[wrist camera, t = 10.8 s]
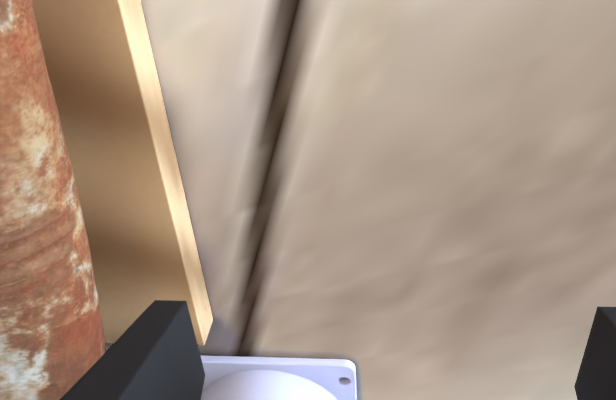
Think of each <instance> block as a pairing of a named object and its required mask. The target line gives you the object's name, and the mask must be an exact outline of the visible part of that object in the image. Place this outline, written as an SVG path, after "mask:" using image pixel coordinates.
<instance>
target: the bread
mask: <svg viewBox="0 0 616 400" xmlns="http://www.w3.org/2000/svg"><path fill="white" fill-rule="evenodd" d="M104 353H105V335H104V327H103V321H102V316H101V310H100V301H99V295H98V292H97V289H96V285H95V278H94V272H93V266H92V260H91V253H90V247H89V242H88V237H87V233H86V228H85V224H84V219H83V214H82V210H81V205H80V202H79V198H78V194H77V189H76V184H75V180H74V175H73V170H72V165H71V161H70V157H69V153H68V150H67V146H66V143H65V139H64V135H63V131H62V126H61V122H60V117H59V113H58V108H57V105H56V101H55V97H54V93H53V90H52V86H51V83H50V79H49V76H48V72H47V67H46V63H45V58H44V53H43V49H42V44H41V40H40V36H39V31H38V27H37V22H36V17H35V12H34V7H33V3H32V0H0V400H59V399H60V398H61V397H62V396H63V395H64V394H66V393H67V392H68V390H69V389H70V388H71V387H72V386H73V385H74V384H75V383H76V382H77V381H78V380H79V379H80V378H81V377H82V376H83V375H84V374H85V373H86V372H87V371H88V370H89V369H90V368H91V367H92V366H93V365H94V364H95V363H96V362H97V361H98V360H99V359H100V358H101V357H102V355H103V354H104Z"/></svg>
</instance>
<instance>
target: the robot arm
mask: <svg viewBox="0 0 616 400" xmlns="http://www.w3.org/2000/svg"><path fill="white" fill-rule="evenodd" d="M342 377H345V378H342ZM575 390H576V395H577V399H578V400H616V307H597V311H596V314H595V318H594V321H593V325H592V328H591V331H590V335H589V338H588V342H587V345H586V349H585V352H584V356H583V359H582V363H581V366H580V370H579V373H578V377H577V380H576V383H575ZM59 400H357V391H356V367H355V364H354V363H353V362H351V361H349V360H345V359H314V358H277V357H240V356H203V355H200V352H199V348H198V344H197V340H196V337H195V333H194V329H193V325H192V321H191V317H190V313H189V309H188V306H187V302H186V301H172V300H155V301H154V302H153V303H152V304H151V305H150V306H149V307H148V308H147V309H146V310H145V311H144V312H143V313H142V314H141V315H140V316H139V317H138V318H137V319H136V320H135V321H134V322H133V323H132V325H131V326H130V327H129V328H128V329H127V330H126V331H125V332H124V333H123V334H122V335H121V336H120V337H119V338H118V340H117V341H116V342H115V343H114V344H113V345H112V346H111V347H110V348H109V349H108V350H107V351H106V352H105V353H104V354H103V355H102V357H101V358H100V359H99V360H98V361H97V362H96V363H95V364H94V365H93V366H92V367H91V368H90V369H89V370H88V371H87V372H86V373H85V374H84V375H83V376H82V377H81V378H80V379H79V380H78V381H77V382H76V383H75V384H74V385H73V386H72V387H71V388H70V389H69V390H68V392H67V393H66V394H64V395H63V396H62V397H61V398H60V399H59Z"/></svg>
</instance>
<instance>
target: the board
mask: <svg viewBox="0 0 616 400" xmlns="http://www.w3.org/2000/svg"><path fill="white" fill-rule="evenodd" d="M32 3H33V7H34V12H35V17H36V22H37V27H38V31H39V36H40V40H41V44H42V49H43V53H44V58H45V63H46V67H47V72H48V76H49V79H50V83H51V86H52V90H53V93H54V97H55V101H56V105H57V108H58V113H59V117H60V122H61V126H62V131H63V135H64V139H65V143H66V146H67V150H68V153H69V157H70V161H71V165H72V170H73V175H74V180H75V184H76V189H77V194H78V198H79V202H80V205H81V210H82V214H83V219H84V224H85V228H86V233H87V237H88V242H89V247H90V253H91V260H92V266H93V272H94V278H95V285H96V289H97V292H98V295H99V301H100V310H101V316H102V321H103V327H104V335H105V343H115V342H116V341H117V340H118V338H119V337H120V336H121V335H122V334H123V333H124V332H125V331H126V330H127V329H128V328H129V327H130V326H131V325H132V323H133V322H134V321H135V320H136V319H137V318H138V317H139V316H140V315H141V314H142V313H143V312H144V311H145V310H146V309H147V308H148V307H149V306H150V305H151V304H152V303H153V302H154V301H155V300H172V301H186V302H187V306H188V309H189V313H190V317H191V321H192V325H193V329H194V333H195V337H196V340H197V344H198V345H201V346H204V345H205V342H206V339H207V336H208V333H209V330H210V327H211V324H212V321H213V317H212V312H211V308H210V304H209V299H208V295H207V290H206V286H205V282H204V277H203V273H202V268H201V264H200V260H199V255H198V251H197V246H196V242H195V238H194V233H193V229H192V224H191V220H190V216H189V211H188V207H187V203H186V198H185V194H184V189H183V185H182V181H181V176H180V172H179V167H178V163H177V159H176V154H175V150H174V145H173V141H172V137H171V132H170V128H169V123H168V119H167V115H166V110H165V106H164V101H163V97H162V93H161V88H160V84H159V80H158V75H157V71H156V66H155V62H154V58H153V53H152V49H151V44H150V40H149V36H148V31H147V27H146V22H145V18H144V14H143V9H142V5H141V0H32Z"/></svg>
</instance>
